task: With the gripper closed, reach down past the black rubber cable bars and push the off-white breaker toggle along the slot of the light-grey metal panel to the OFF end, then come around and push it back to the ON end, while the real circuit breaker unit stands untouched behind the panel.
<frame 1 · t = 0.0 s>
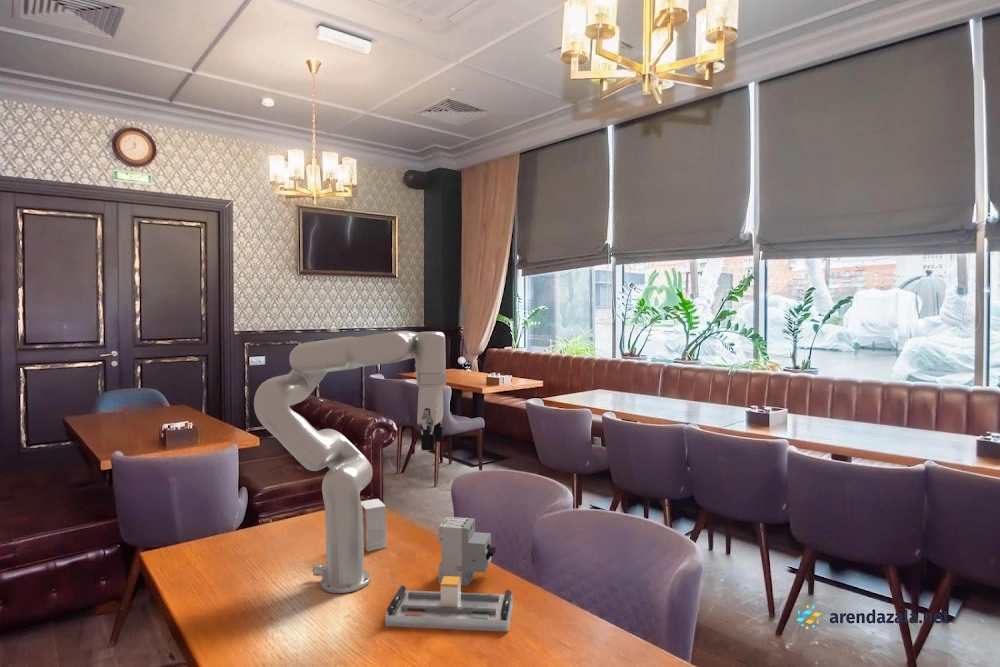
hand: (432, 445, 149), 37 cm above the table, tool pointing down, fingers open, 9 cm apart
toggle: (450, 591, 136), point 6 cm above the table, slide at 0.0 cm
circuit breaker: (468, 579, 155), on the table
small box: (372, 546, 178), on the table
panel: (451, 615, 136), on the table
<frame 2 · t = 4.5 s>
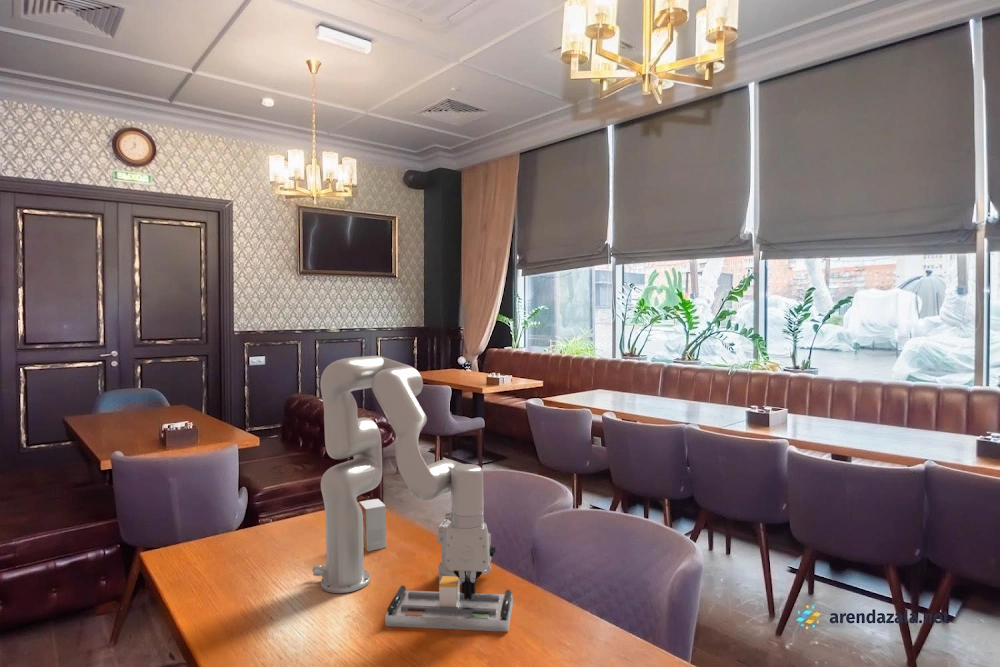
hand: (468, 596, 135), 5 cm above the table, tool pointing down, fingers closed
toggle: (449, 591, 136), point 6 cm above the table, slide at -0.3 cm, touching gripper
everything else where it was.
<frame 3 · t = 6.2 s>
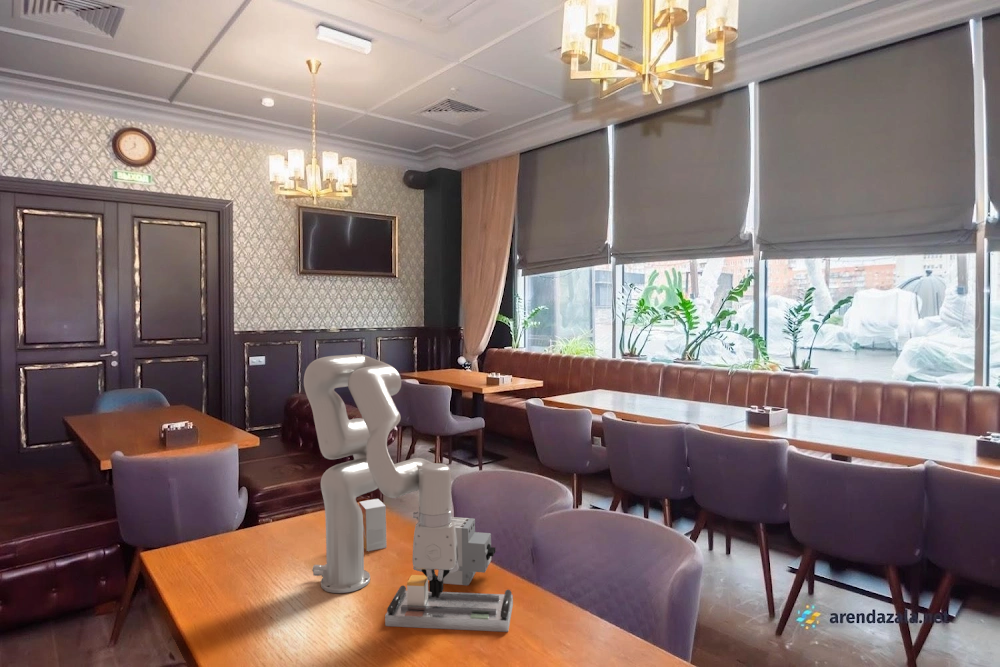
hand: (436, 594, 136), 5 cm above the table, tool pointing down, fingers closed
toggle: (417, 590, 137), point 6 cm above the table, slide at -7.9 cm, touching gripper
everything else where it was.
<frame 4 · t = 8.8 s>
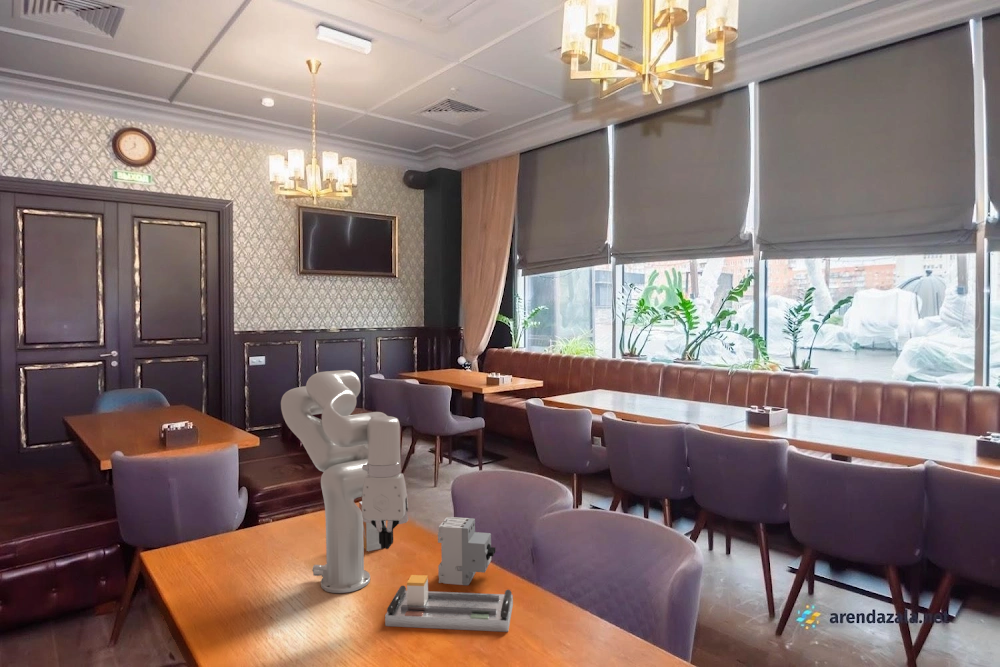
hand: (386, 546, 137), 16 cm above the table, tool pointing down, fingers closed
toggle: (417, 590, 137), point 6 cm above the table, slide at -7.9 cm
everything else where it was.
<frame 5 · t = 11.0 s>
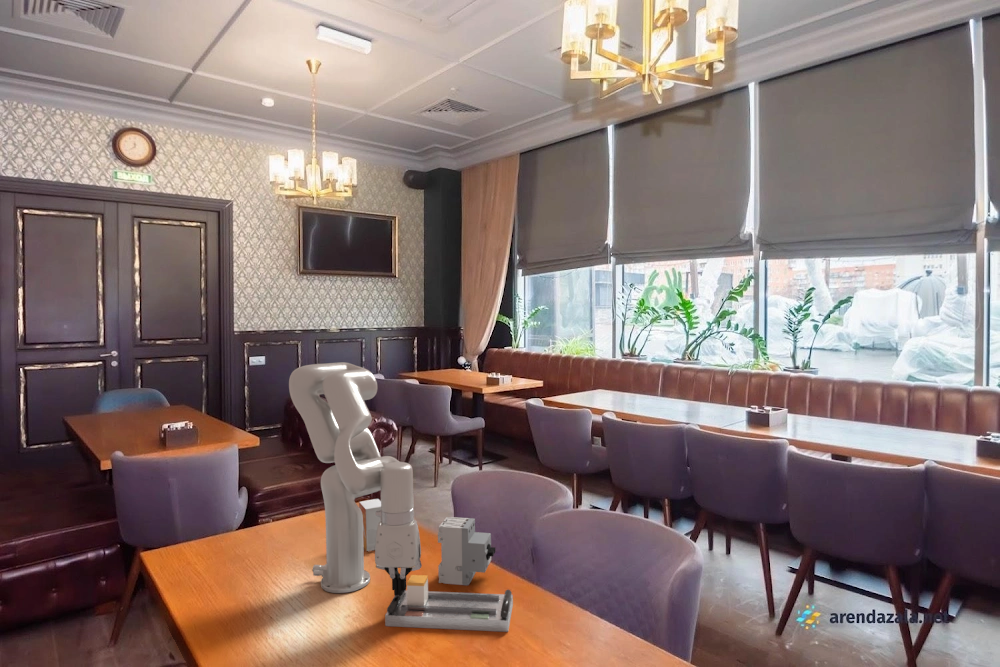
hand: (399, 592, 137), 5 cm above the table, tool pointing down, fingers closed
toggle: (417, 590, 137), point 6 cm above the table, slide at -7.9 cm, touching gripper
everything else where it was.
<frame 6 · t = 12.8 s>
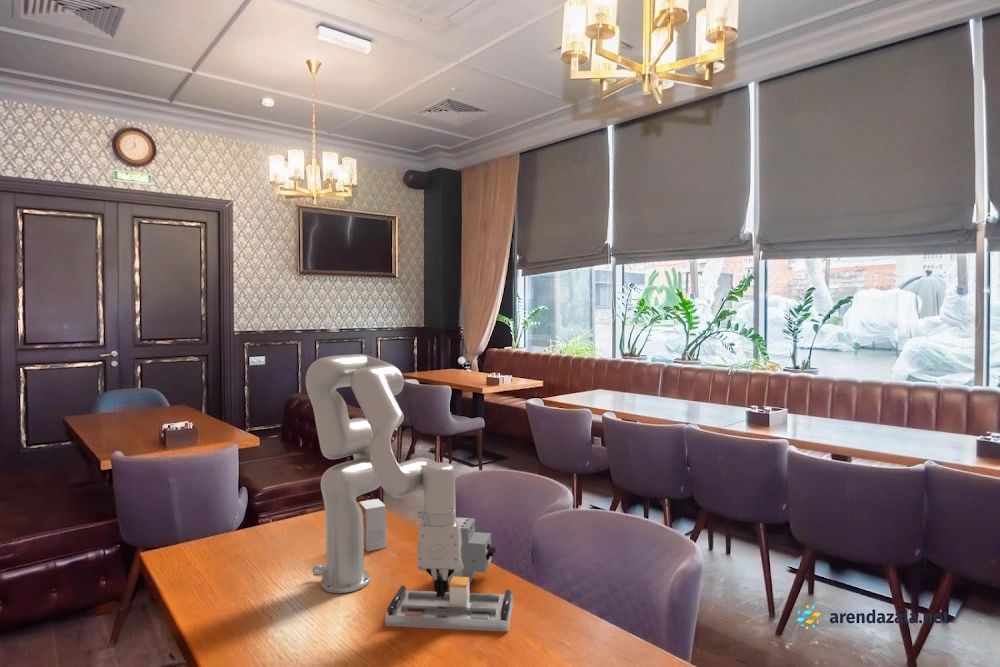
hand: (441, 594, 136), 5 cm above the table, tool pointing down, fingers closed
toggle: (459, 592, 136), point 6 cm above the table, slide at 2.1 cm, touching gripper
everything else where it was.
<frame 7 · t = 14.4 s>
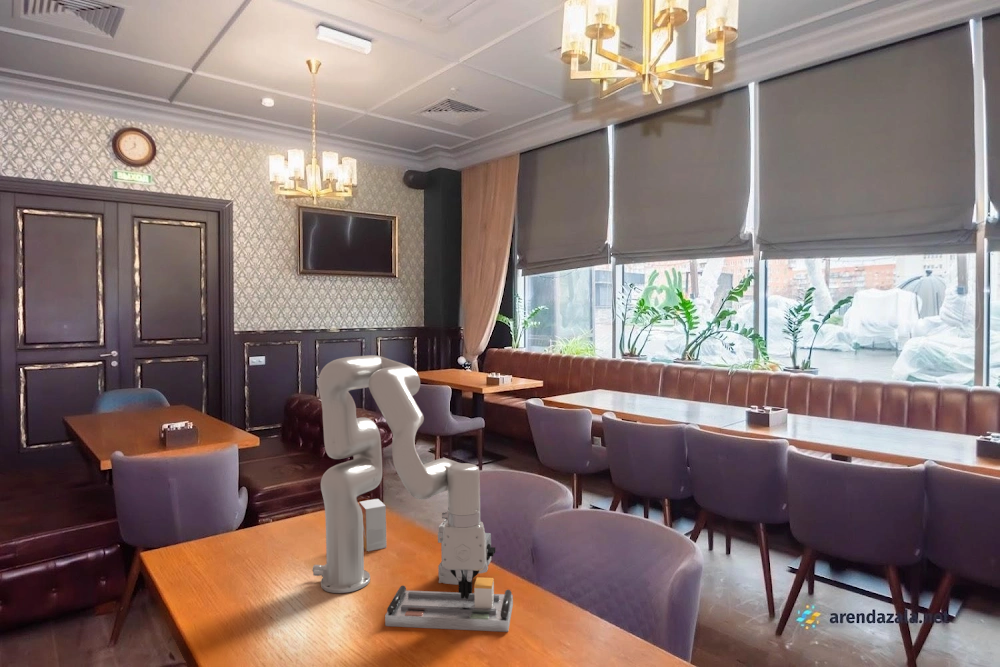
hand: (465, 595, 135), 5 cm above the table, tool pointing down, fingers closed
toggle: (484, 593, 135), point 6 cm above the table, slide at 7.9 cm, touching gripper
everything else where it was.
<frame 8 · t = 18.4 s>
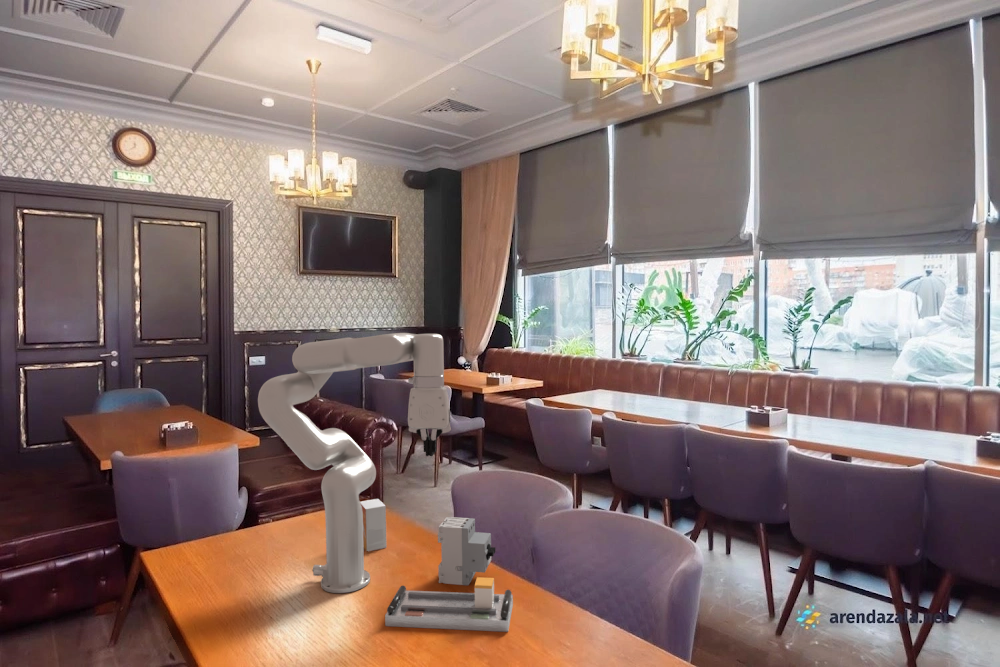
hand: (430, 454, 147), 35 cm above the table, tool pointing down, fingers closed
toggle: (484, 593, 135), point 6 cm above the table, slide at 8.0 cm
everything else where it was.
at the end: toggle slide at 8.0 cm; toggle touching nothing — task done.
